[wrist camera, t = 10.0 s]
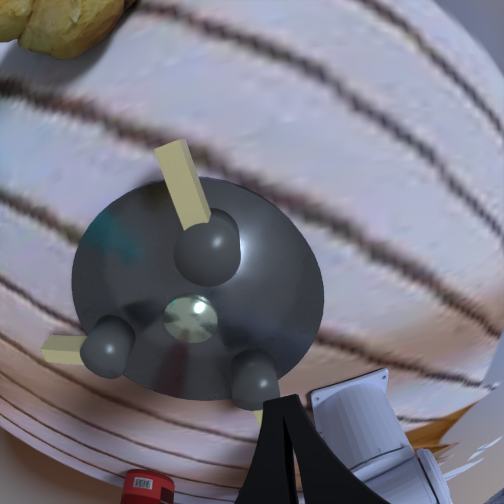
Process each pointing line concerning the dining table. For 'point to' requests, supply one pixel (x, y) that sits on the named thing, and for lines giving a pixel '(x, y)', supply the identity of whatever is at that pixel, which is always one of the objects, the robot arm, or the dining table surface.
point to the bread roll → (59, 24)
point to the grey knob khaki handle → (95, 347)
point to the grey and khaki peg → (198, 222)
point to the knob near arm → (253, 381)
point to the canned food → (147, 488)
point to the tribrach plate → (198, 290)
